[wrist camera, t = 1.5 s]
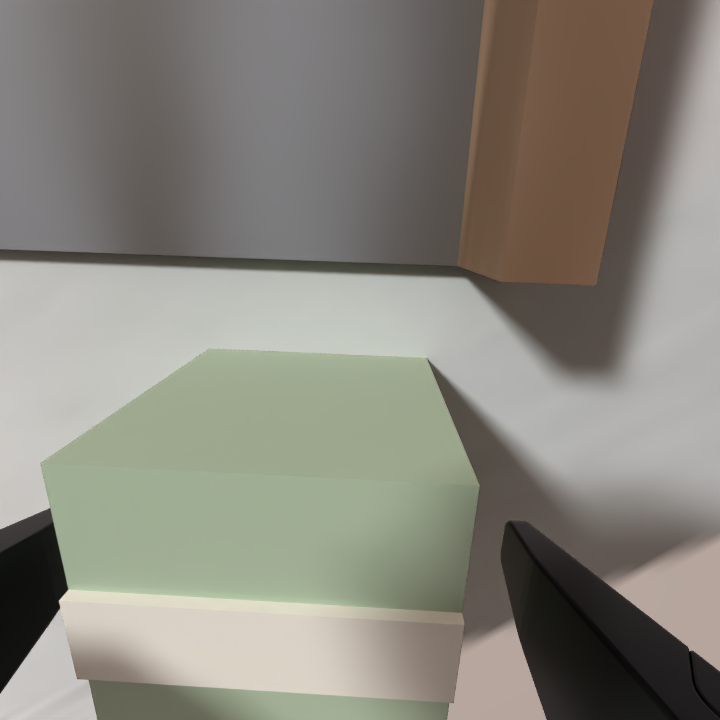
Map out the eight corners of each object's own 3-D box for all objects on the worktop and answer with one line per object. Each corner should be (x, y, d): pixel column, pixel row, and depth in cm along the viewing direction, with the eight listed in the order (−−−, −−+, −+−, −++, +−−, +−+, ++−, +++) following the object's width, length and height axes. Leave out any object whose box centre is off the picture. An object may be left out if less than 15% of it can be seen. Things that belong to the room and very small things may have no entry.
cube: (426, 357, 11) (483, 494, 5) (410, 537, 13) (440, 793, 7) (210, 347, 11) (28, 471, 5) (223, 527, 13) (98, 769, 7)
